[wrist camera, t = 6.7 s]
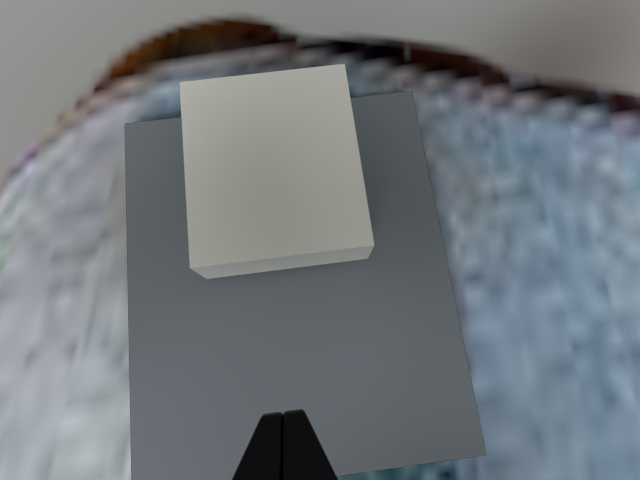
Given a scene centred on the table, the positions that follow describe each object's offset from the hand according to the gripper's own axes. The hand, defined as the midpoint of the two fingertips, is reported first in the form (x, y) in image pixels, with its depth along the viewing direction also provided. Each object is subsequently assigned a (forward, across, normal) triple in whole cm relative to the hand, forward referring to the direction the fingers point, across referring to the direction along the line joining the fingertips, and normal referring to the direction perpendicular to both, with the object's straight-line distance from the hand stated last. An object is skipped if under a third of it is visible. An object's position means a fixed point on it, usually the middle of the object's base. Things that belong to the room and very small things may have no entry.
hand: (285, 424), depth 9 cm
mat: (+11, 0, +4) cm, 11 cm away
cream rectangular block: (+9, 0, +2) cm, 9 cm away
